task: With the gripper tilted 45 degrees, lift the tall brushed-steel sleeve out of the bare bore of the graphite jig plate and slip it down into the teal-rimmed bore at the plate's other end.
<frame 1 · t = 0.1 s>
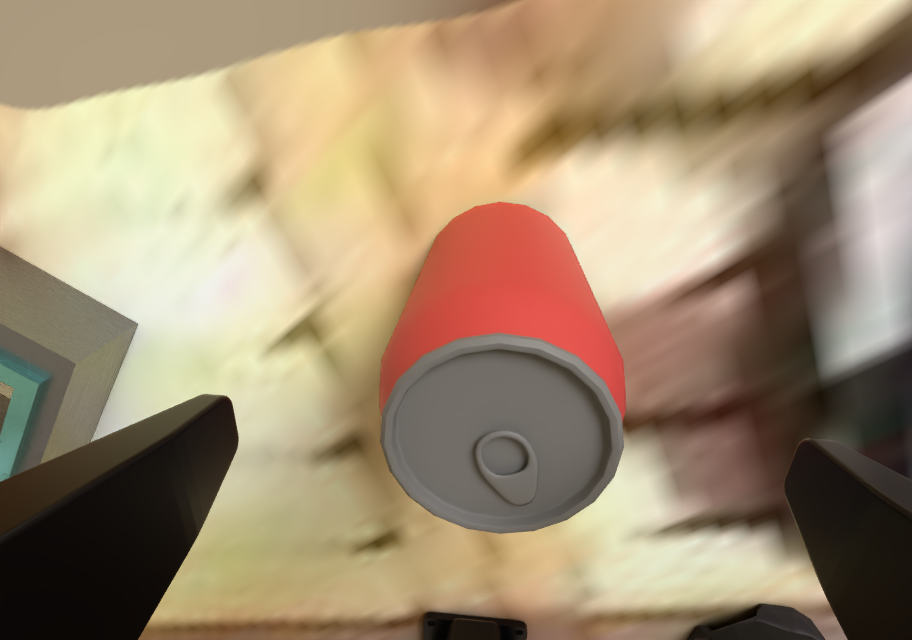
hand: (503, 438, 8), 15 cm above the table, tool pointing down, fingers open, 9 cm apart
beer can: (500, 272, 22), on the table
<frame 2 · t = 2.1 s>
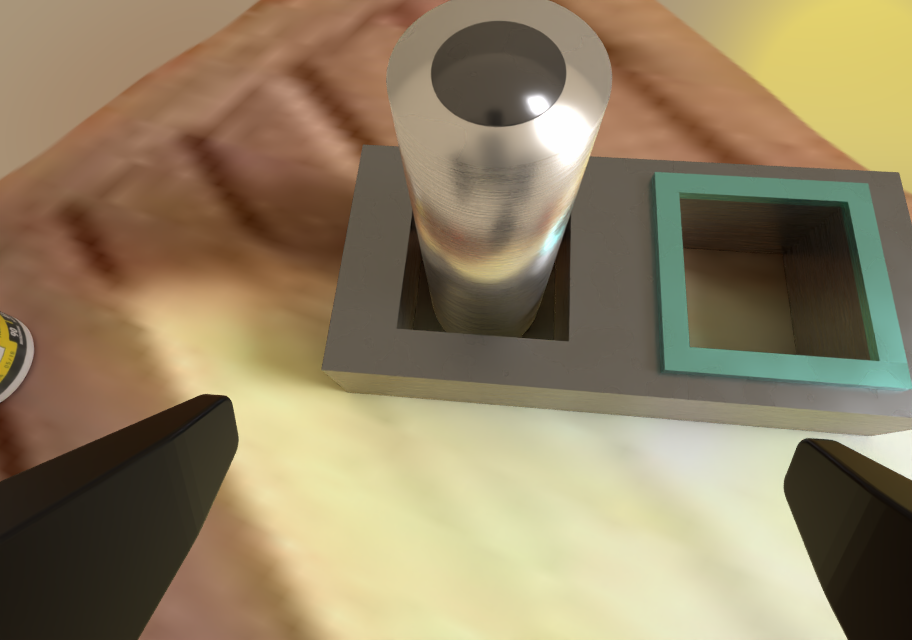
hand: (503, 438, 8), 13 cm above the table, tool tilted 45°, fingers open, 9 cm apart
steel sleeve: (485, 296, 23), resting in jig plate
jig plate: (600, 304, 23), on the table
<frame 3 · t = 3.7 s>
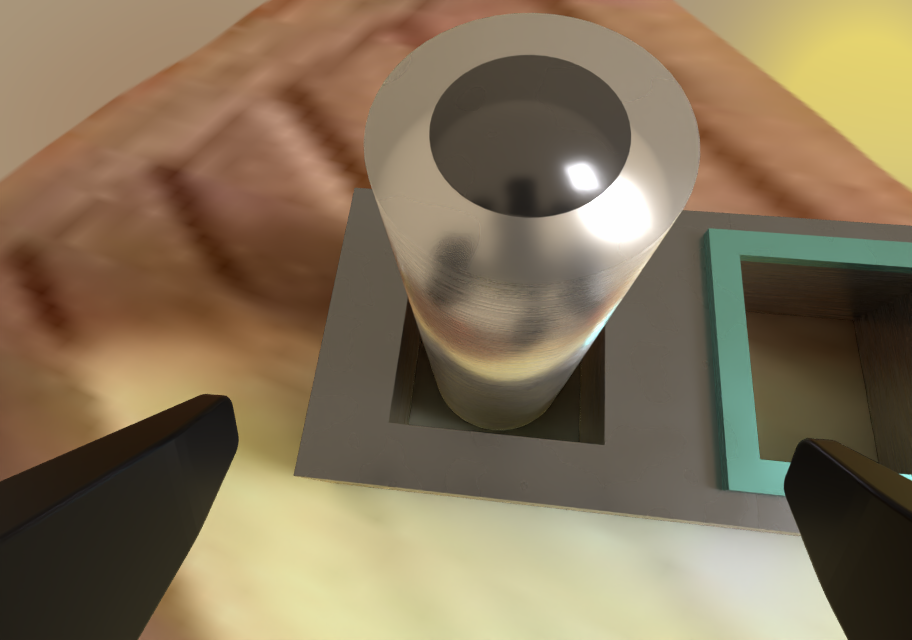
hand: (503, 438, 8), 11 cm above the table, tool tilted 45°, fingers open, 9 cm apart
steel sleeve: (498, 365, 20), resting in jig plate
jig plate: (635, 378, 19), on the table
when the fingers open (7 cm above the table, at t = 10.3 s): steel sleeve stays where it is, resting in jig plate.
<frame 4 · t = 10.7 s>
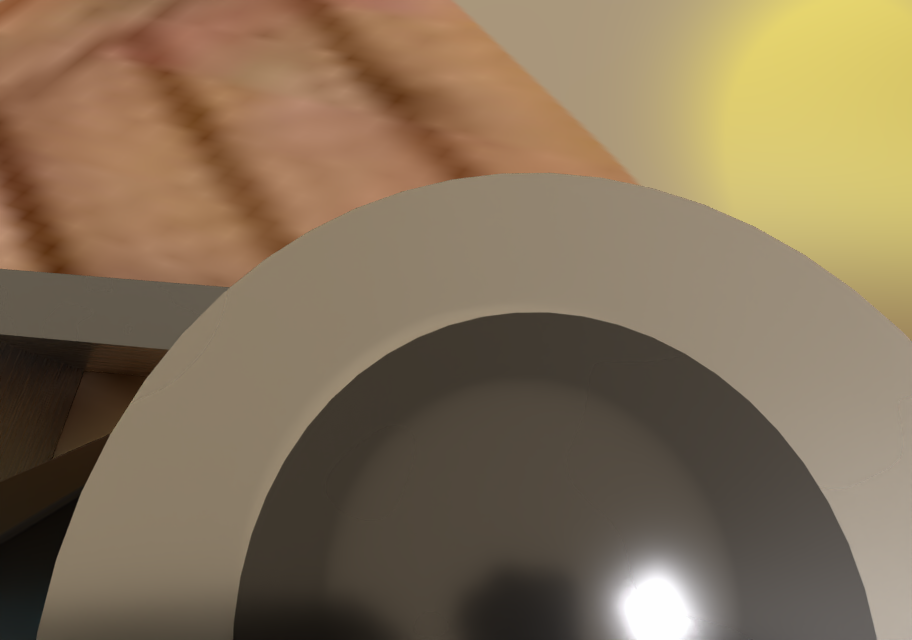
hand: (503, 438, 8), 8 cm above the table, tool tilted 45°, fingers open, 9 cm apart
steel sleeve: (487, 521, 15), resting in jig plate
jig plate: (312, 499, 15), on the table
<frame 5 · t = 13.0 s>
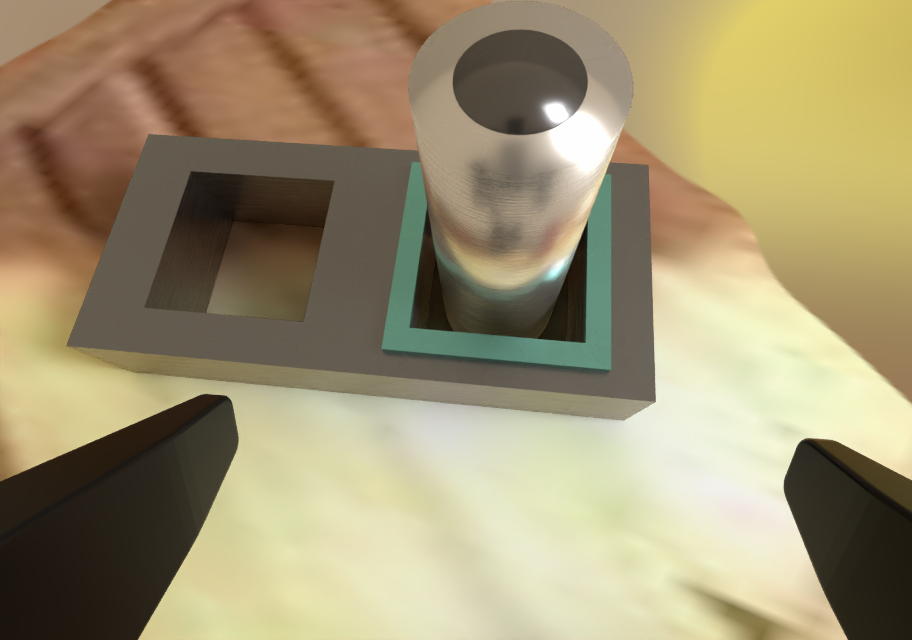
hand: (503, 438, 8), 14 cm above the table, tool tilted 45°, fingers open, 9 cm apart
steel sleeve: (498, 301, 23), resting in jig plate
jig plate: (387, 291, 24), on the table
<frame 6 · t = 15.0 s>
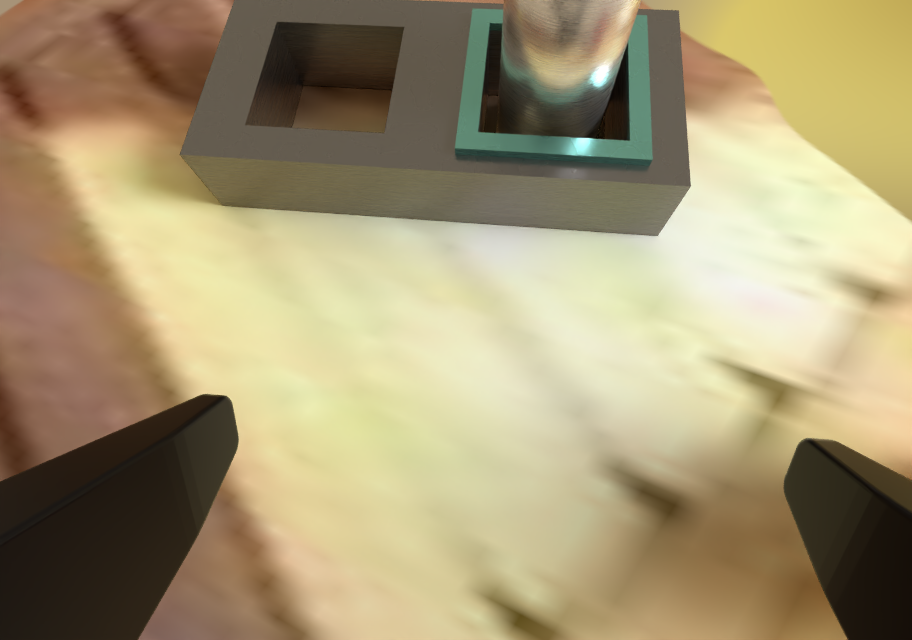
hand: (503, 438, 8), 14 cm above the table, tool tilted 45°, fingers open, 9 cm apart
steel sleeve: (543, 146, 26), resting in jig plate
jig plate: (444, 139, 27), on the table
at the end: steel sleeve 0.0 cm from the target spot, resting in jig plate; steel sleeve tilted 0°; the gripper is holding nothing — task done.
